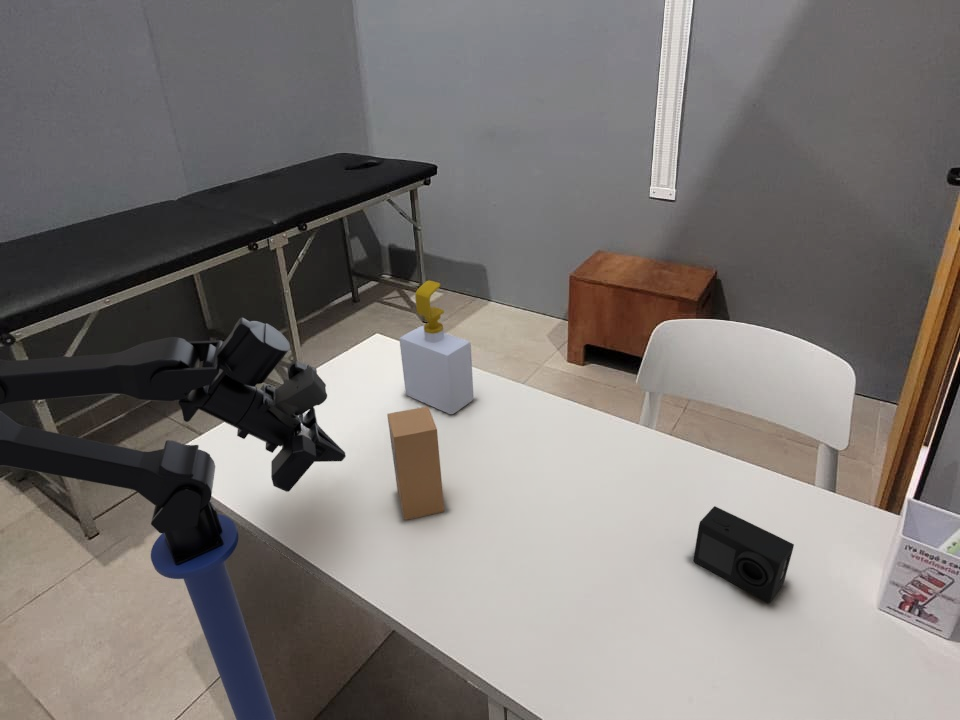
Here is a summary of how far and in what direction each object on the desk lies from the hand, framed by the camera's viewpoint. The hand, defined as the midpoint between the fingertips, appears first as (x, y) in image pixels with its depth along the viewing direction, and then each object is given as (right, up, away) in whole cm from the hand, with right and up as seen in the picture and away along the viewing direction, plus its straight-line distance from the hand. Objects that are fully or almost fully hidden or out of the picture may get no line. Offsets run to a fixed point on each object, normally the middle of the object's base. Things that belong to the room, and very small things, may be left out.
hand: (343, 457), depth 90 cm
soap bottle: (+11, +6, +33) cm, 35 cm away
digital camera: (+52, -14, -7) cm, 54 cm away
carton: (+10, -8, +8) cm, 15 cm away
